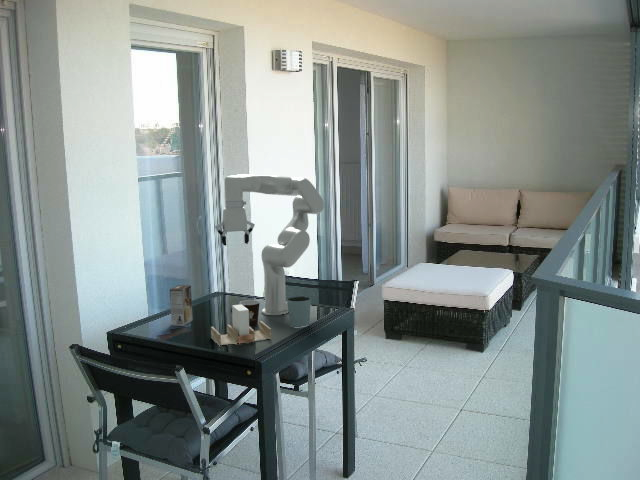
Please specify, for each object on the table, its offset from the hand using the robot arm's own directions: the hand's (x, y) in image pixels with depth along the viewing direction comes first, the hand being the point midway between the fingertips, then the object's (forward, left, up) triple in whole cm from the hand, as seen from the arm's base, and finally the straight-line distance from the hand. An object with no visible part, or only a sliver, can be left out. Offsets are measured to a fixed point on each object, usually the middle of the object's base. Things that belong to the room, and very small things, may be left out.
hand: (235, 244), depth 298 cm
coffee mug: (-2, +7, -34) cm, 35 cm away
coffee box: (+23, -8, -34) cm, 42 cm away
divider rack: (+6, +26, -34) cm, 43 cm away
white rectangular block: (+6, +26, -34) cm, 43 cm away
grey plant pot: (-22, +18, -34) cm, 45 cm away
